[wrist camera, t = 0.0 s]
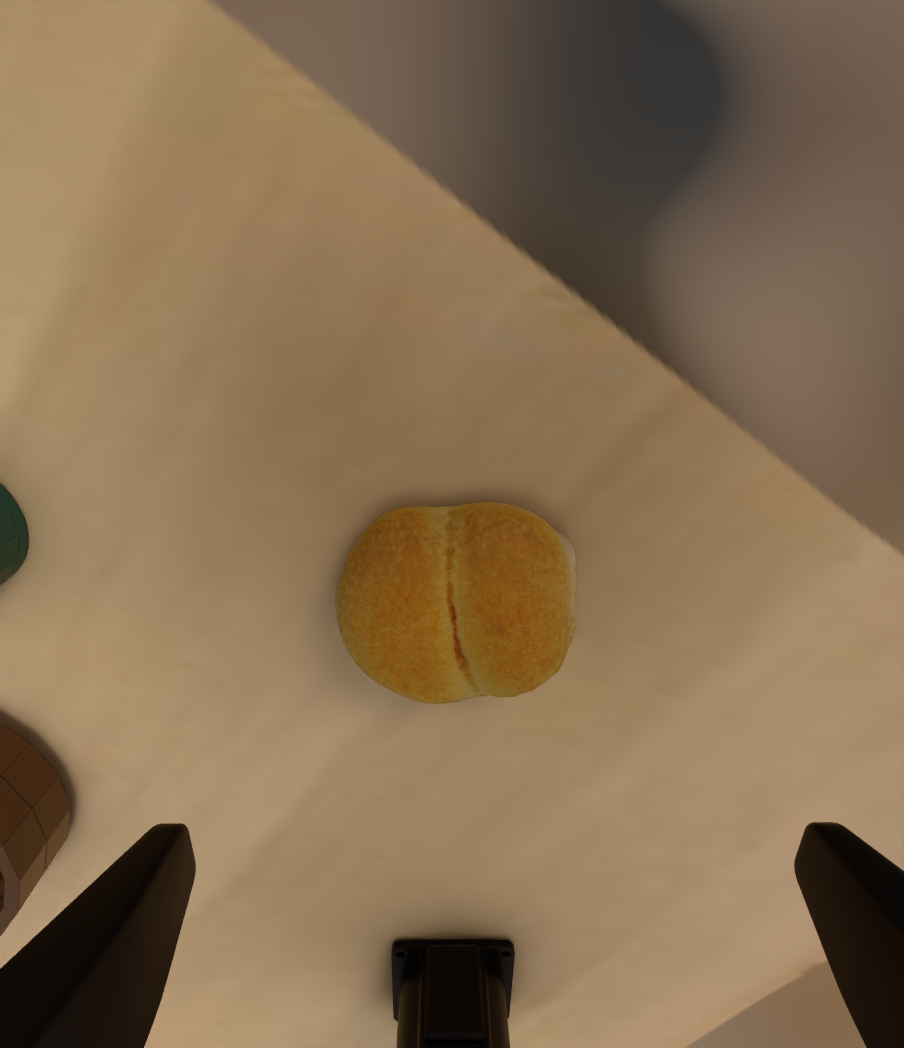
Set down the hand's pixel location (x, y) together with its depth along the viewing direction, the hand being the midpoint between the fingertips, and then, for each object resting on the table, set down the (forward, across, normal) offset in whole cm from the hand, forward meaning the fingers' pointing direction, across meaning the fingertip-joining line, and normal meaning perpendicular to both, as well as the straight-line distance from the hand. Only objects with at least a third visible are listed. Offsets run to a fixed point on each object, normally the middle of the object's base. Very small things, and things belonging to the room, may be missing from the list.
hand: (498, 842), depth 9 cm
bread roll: (+15, 0, +4) cm, 15 cm away
